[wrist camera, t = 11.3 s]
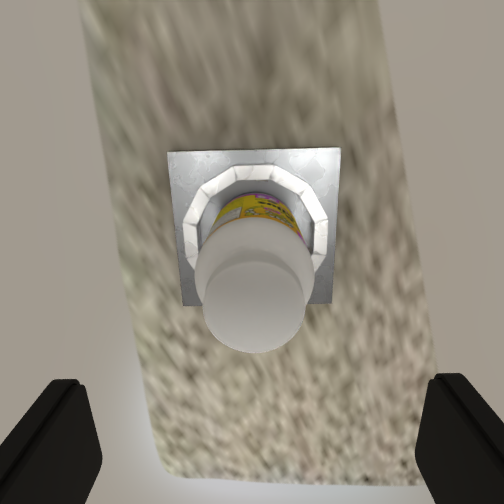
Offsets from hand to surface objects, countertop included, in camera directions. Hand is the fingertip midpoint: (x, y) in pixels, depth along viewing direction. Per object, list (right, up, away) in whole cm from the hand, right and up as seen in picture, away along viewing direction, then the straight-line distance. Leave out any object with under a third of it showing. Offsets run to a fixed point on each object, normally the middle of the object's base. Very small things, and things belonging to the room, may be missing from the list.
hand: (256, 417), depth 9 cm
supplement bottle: (0, +6, +18) cm, 19 cm away
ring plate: (0, +6, +19) cm, 20 cm away
